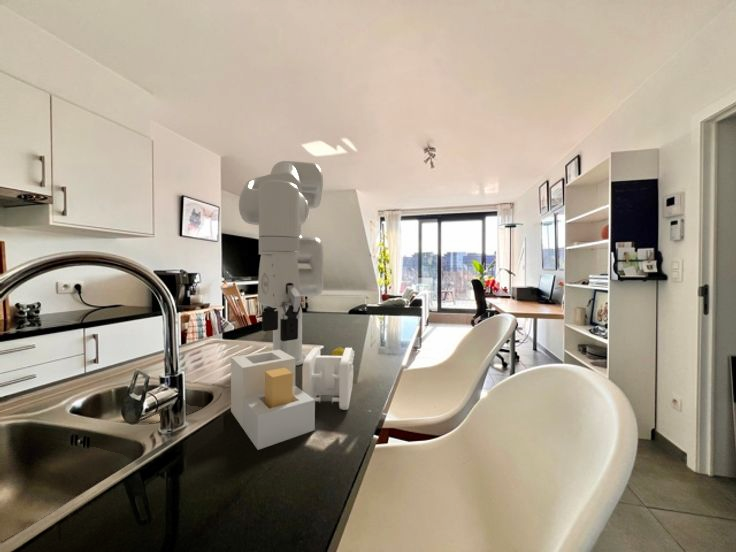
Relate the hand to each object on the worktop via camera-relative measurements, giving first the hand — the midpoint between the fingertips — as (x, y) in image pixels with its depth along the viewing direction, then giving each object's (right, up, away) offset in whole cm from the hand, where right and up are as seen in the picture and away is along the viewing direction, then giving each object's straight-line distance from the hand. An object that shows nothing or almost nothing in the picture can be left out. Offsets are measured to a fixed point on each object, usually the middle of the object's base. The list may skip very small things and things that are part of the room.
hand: (279, 334), depth 60 cm
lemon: (+9, -18, +33) cm, 38 cm away
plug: (0, -15, 0) cm, 15 cm away
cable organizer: (+8, -19, +14) cm, 24 cm away
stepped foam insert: (-3, -18, +4) cm, 19 cm away
